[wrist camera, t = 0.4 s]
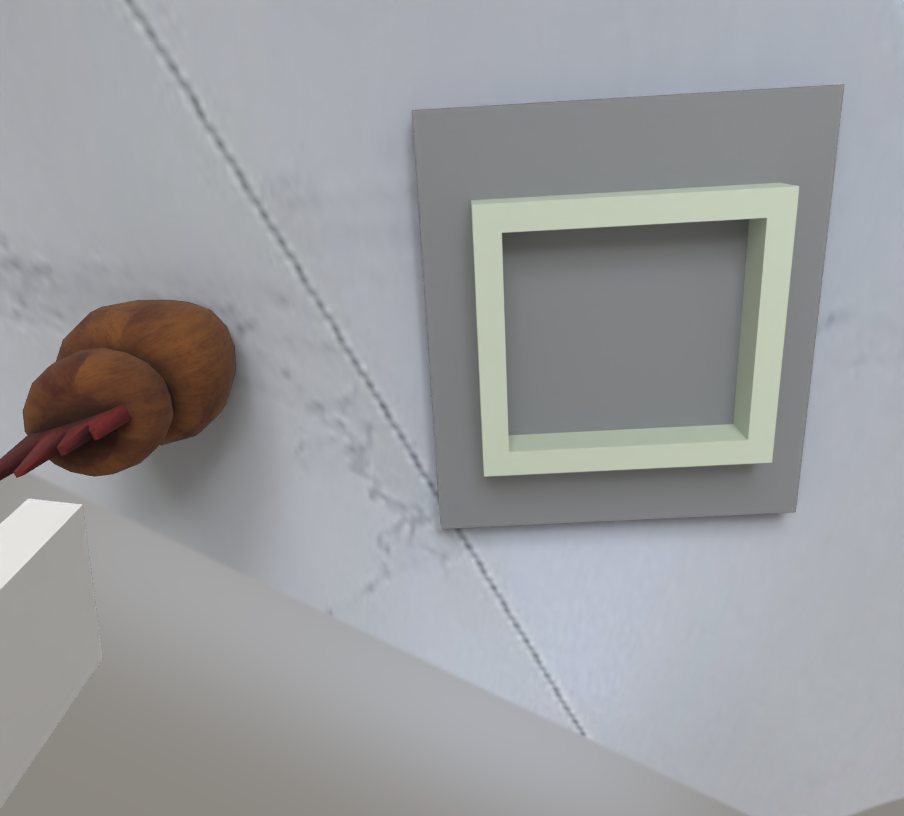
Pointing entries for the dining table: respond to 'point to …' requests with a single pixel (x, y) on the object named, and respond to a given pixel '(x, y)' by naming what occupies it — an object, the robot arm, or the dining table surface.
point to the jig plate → (623, 302)
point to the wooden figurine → (126, 388)
